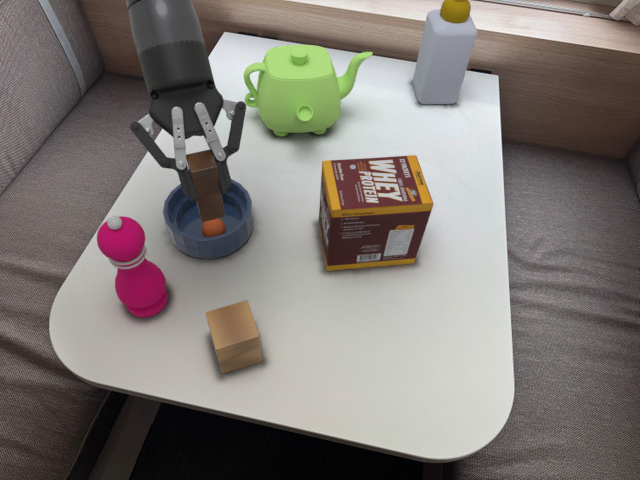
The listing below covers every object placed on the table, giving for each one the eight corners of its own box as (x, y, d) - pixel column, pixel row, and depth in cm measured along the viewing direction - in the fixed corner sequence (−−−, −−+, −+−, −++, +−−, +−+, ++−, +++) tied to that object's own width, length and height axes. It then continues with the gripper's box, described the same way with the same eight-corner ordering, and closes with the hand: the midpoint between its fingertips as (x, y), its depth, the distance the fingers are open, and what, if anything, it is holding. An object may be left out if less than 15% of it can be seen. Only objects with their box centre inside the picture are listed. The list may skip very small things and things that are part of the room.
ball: (206, 248, 87) (202, 232, 84) (200, 231, 89) (197, 215, 86) (229, 242, 88) (227, 226, 85) (223, 225, 90) (221, 209, 87)
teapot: (249, 166, 100) (243, 98, 88) (244, 96, 113) (239, 28, 101) (376, 159, 103) (387, 92, 90) (357, 91, 116) (365, 25, 103)
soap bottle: (457, 105, 115) (492, -7, 95) (417, 105, 114) (444, -8, 94) (448, 80, 120) (480, -31, 100) (410, 81, 119) (434, -31, 99)
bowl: (178, 270, 85) (172, 250, 81) (162, 207, 93) (156, 186, 89) (263, 247, 89) (262, 227, 84) (240, 188, 97) (238, 167, 92)
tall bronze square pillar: (202, 222, 65) (190, 172, 58) (196, 205, 67) (185, 154, 60) (225, 216, 66) (217, 166, 59) (219, 200, 68) (211, 149, 61)
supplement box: (316, 223, 92) (321, 159, 80) (401, 217, 94) (417, 153, 82) (325, 272, 86) (330, 210, 74) (415, 264, 88) (435, 202, 75)
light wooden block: (222, 374, 74) (215, 349, 68) (212, 338, 78) (205, 311, 71) (262, 361, 76) (259, 336, 70) (250, 326, 79) (247, 299, 73)
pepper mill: (114, 297, 81) (72, 215, 65) (155, 273, 84) (124, 188, 69) (138, 329, 78) (99, 250, 62) (180, 302, 81) (153, 221, 65)
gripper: (102, 50, 53) (148, 213, 56) (236, 28, 57) (272, 183, 60) (110, 65, 60) (151, 209, 63) (228, 45, 64) (261, 183, 67)
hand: (209, 196), depth 61 cm, fingers closed on tall bronze square pillar, 3 cm apart
